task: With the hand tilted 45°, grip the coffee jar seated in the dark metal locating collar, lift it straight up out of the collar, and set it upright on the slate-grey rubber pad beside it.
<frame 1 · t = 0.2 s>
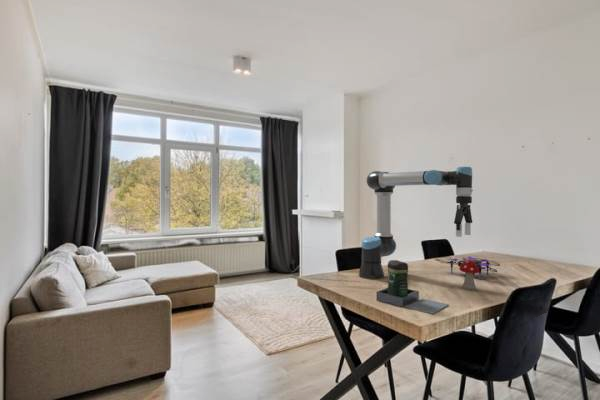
hand: (463, 235, 176), 28 cm above the table, tool pointing down, fingers open, 13 cm apart
rubber pad: (427, 306, 146), on the table
coffee jar: (397, 300, 156), resting in locating collar
locating collar: (397, 299, 156), on the table
decorative mushroom: (469, 289, 174), on the table
drone: (473, 275, 205), on the table
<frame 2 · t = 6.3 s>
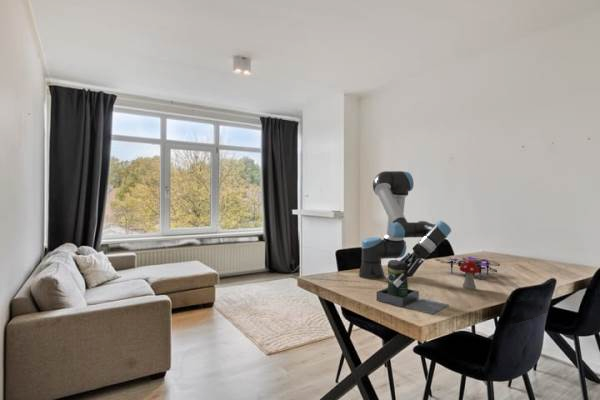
hand: (391, 282, 155), 8 cm above the table, tool tilted 45°, fingers closed on coffee jar, 9 cm apart
coffee jar: (397, 300, 156), resting in locating collar, touching gripper
everything else where it was.
when the fingers open (10 cm above the table, at t = 12.9 s): coffee jar moves 3 cm, resting on rubber pad.
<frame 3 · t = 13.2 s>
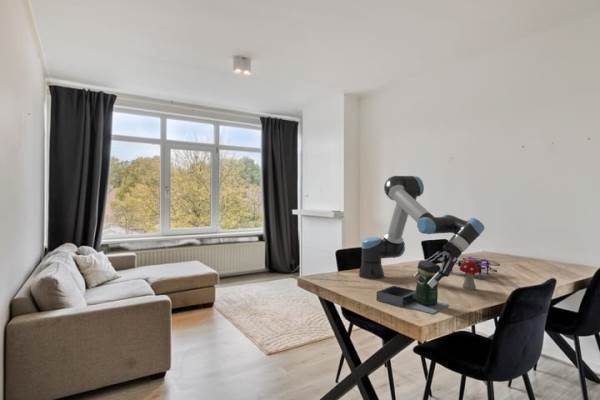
hand: (422, 281, 146), 11 cm above the table, tool tilted 45°, fingers open, 13 cm apart
coffee jar: (425, 302, 149), point 1 cm above the table, touching gripper, rubber pad
everything else where it was.
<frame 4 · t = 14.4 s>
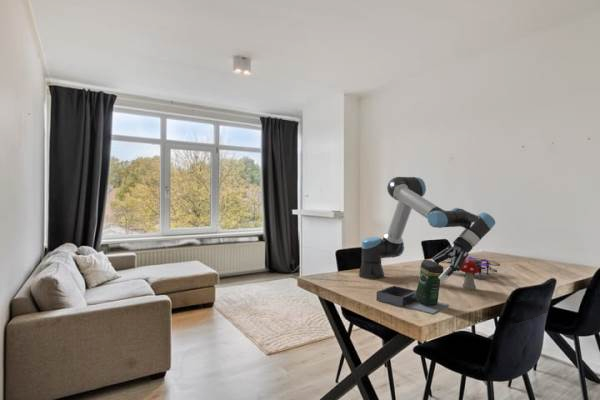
hand: (433, 276, 146), 14 cm above the table, tool tilted 45°, fingers open, 13 cm apart
coffee jar: (425, 301, 149), point 1 cm above the table, touching rubber pad
everything else where it was.
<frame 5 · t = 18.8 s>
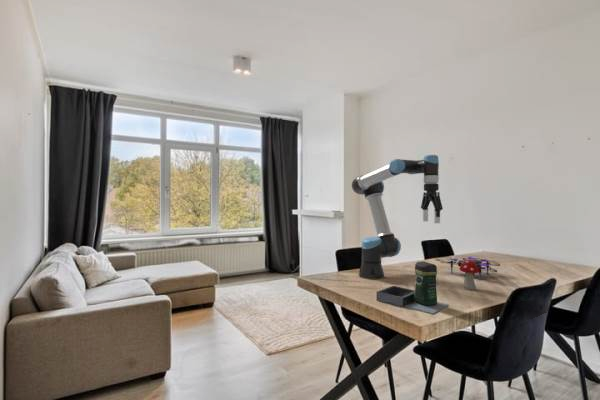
hand: (431, 222, 180), 35 cm above the table, tool pointing down, fingers open, 13 cm apart
at the end: coffee jar inside the target area on the rubber pad (3.2 cm from its centre), point 0.3 cm above the rubber pad's base; coffee jar tilted 0°; the gripper is holding nothing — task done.
